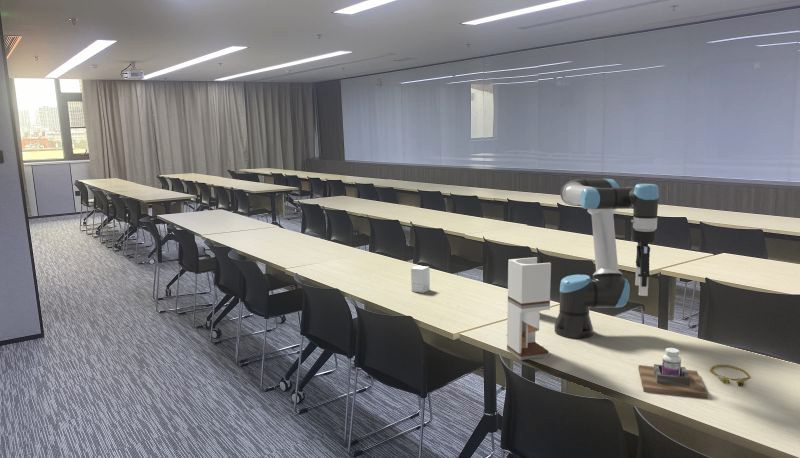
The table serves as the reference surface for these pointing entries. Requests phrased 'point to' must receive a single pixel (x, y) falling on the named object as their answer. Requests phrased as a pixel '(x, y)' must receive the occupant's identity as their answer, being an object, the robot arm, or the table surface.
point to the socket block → (671, 382)
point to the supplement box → (420, 279)
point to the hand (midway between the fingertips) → (641, 290)
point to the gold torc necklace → (725, 380)
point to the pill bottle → (671, 362)
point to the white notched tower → (526, 305)
